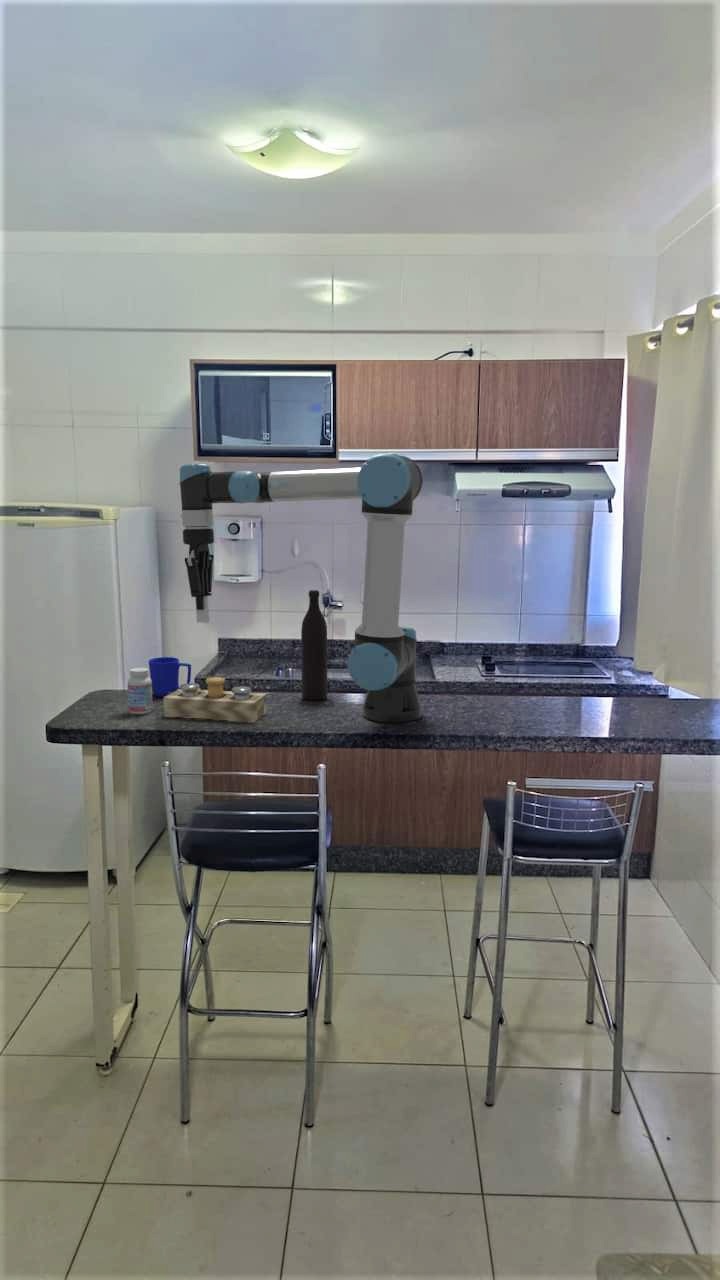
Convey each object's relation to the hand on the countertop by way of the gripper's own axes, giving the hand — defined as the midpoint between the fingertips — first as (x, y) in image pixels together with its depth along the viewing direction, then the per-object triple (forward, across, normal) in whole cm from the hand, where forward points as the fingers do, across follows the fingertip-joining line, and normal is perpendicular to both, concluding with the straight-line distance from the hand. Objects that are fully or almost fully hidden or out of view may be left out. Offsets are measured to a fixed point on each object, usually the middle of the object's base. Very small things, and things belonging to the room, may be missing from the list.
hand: (202, 622), depth 202 cm
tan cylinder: (+21, +1, +3) cm, 21 cm away
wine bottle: (+25, -21, +23) cm, 40 cm away
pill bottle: (+24, +2, -17) cm, 29 cm away
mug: (+24, -16, -17) cm, 33 cm away
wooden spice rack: (+24, +1, +3) cm, 24 cm away
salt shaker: (+23, +1, -4) cm, 23 cm away
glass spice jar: (+23, +1, +10) cm, 25 cm away
